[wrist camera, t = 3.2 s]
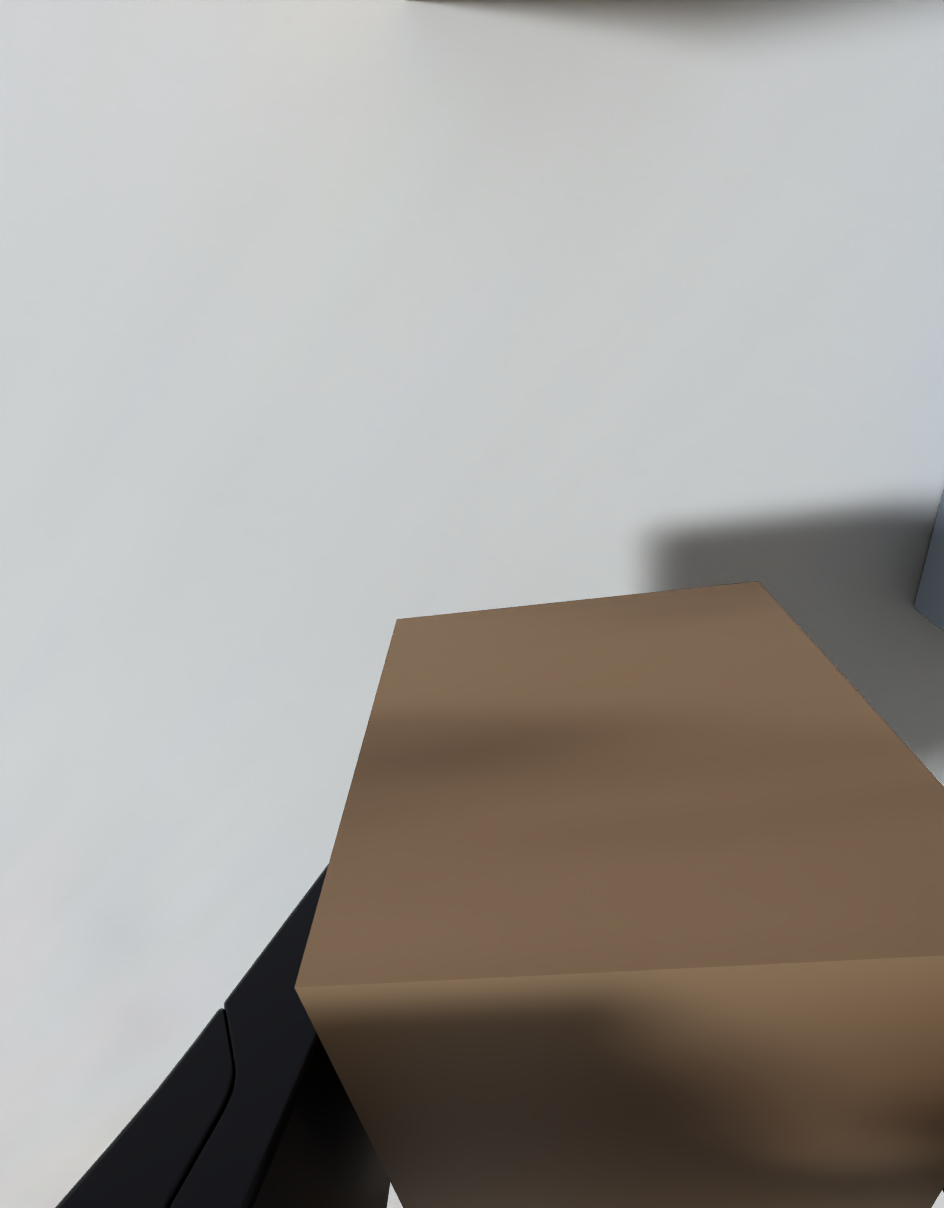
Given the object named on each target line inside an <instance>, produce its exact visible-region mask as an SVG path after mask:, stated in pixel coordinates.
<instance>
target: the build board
mask: <svg viewBox="0 0 944 1208" xmlns="http://www.w3.org/2000/svg"><path fill="white" fill-rule="evenodd" d="M914 609H916V610H917V611H918V612H920V613H921V614H922V615H924V616H925V617H926V618H927V619H929V620H930V621H931V622H933V623H934V624H935V625H937V626H938V627H939V628H941V629H942V630H943V631H944V490H943V494H942V498H941V502H940V506H939V510H938V514H937V518H936V521H935V525H934V529H933V533H932V537H931V541H930V545H929V549H928V553H927V557H926V561H925V565H924V569H923V573H922V577H921V581H920V585H919V589H918V592H917V596H916V600H915V604H914Z"/></svg>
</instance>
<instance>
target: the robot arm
mask: <svg viewBox="0 0 944 1208" xmlns="http://www.w3.org/2000/svg"><path fill="white" fill-rule="evenodd" d="M328 865H329V864H328ZM328 865H327V867H326V868H325V869H324V871H323V872H322V873H321V875H320V876H319V877H318V879H317V880H316V881H315V883H314V884H313V885H312V887H311V888H310V889H309V891H308V892H307V893H306V895H305V896H304V897H303V899H302V900H301V901H300V903H299V904H298V905H297V907H296V908H295V909H294V911H293V912H292V913H291V914H290V916H289V917H288V918H287V920H286V921H285V922H284V924H283V925H282V926H281V928H280V929H279V930H278V932H277V933H276V934H275V936H274V937H273V938H272V940H271V941H270V942H269V944H268V945H267V946H266V948H265V949H264V950H263V952H262V953H261V954H260V956H259V957H258V958H257V960H256V961H255V962H254V964H253V965H252V966H251V968H250V969H249V970H248V972H247V973H246V974H245V976H244V977H243V978H242V980H241V981H240V982H239V984H238V985H237V986H236V988H235V989H234V990H233V992H232V993H231V994H230V996H229V997H228V998H227V1000H226V1001H225V1003H224V1008H225V1009H223V1008H221V1009H219V1010H218V1011H217V1012H216V1014H215V1015H214V1016H213V1018H212V1019H211V1020H210V1022H209V1023H208V1024H207V1026H206V1027H205V1028H204V1030H203V1031H202V1032H201V1034H200V1035H199V1036H198V1038H197V1039H196V1040H195V1042H194V1043H193V1044H192V1045H191V1047H190V1048H189V1049H188V1051H187V1052H186V1053H185V1054H184V1056H183V1057H182V1058H181V1060H180V1061H179V1062H178V1063H177V1065H176V1066H175V1067H174V1068H173V1070H172V1071H171V1072H170V1074H169V1075H168V1076H167V1077H166V1079H165V1080H164V1081H163V1082H162V1084H161V1085H160V1086H159V1088H158V1089H157V1090H156V1091H155V1092H154V1094H153V1095H152V1096H151V1097H150V1098H149V1100H148V1101H147V1102H146V1103H145V1104H144V1105H143V1107H142V1108H141V1109H140V1110H139V1111H138V1113H137V1114H136V1115H135V1116H134V1117H133V1118H132V1120H131V1121H130V1122H129V1123H128V1124H127V1126H126V1127H125V1128H124V1129H123V1130H122V1131H121V1133H120V1134H119V1135H118V1136H117V1137H116V1139H115V1140H114V1141H113V1142H112V1143H111V1144H110V1146H109V1147H108V1148H107V1149H106V1150H105V1151H104V1153H103V1154H102V1155H101V1156H100V1157H99V1158H98V1159H97V1161H96V1162H95V1163H94V1164H93V1165H92V1166H91V1167H90V1169H89V1170H88V1171H87V1172H86V1173H85V1174H84V1175H83V1177H82V1178H81V1179H80V1180H79V1181H78V1182H77V1183H76V1185H75V1186H74V1187H73V1188H72V1189H71V1190H70V1191H69V1193H68V1194H67V1195H66V1196H65V1197H64V1198H63V1199H62V1201H61V1202H60V1203H59V1204H58V1205H57V1206H56V1207H55V1208H387V1201H388V1194H389V1187H390V1180H389V1178H388V1176H387V1174H386V1172H385V1170H384V1168H383V1166H382V1164H381V1162H380V1160H379V1157H378V1155H377V1153H376V1151H375V1149H374V1147H373V1145H372V1143H371V1141H370V1139H369V1137H368V1135H367V1133H366V1131H365V1129H364V1127H363V1125H362V1123H361V1121H360V1119H359V1117H358V1115H357V1113H356V1111H355V1109H354V1107H353V1105H352V1103H351V1101H350V1099H349V1097H348V1095H347V1093H346V1091H345V1089H344V1087H343V1085H342V1083H341V1081H340V1079H339V1077H338V1075H337V1073H336V1071H335V1069H334V1067H333V1065H332V1063H331V1061H330V1059H329V1056H328V1054H327V1052H326V1050H325V1048H324V1046H323V1044H322V1042H321V1040H320V1038H319V1036H318V1034H317V1032H316V1030H315V1028H314V1026H313V1024H312V1022H311V1020H310V1018H309V1016H308V1014H307V1012H306V1010H305V1008H304V1006H303V1004H302V1002H301V1000H300V998H299V996H298V994H297V992H296V990H295V988H294V987H295V984H296V980H297V977H298V973H299V970H300V966H301V962H302V959H303V955H304V952H305V948H306V944H307V941H308V937H309V934H310V930H311V926H312V923H313V919H314V916H315V912H316V908H317V905H318V901H319V898H320V894H321V890H322V887H323V883H324V880H325V876H326V872H327V869H328ZM942 1190H943V1192H944V1187H943V1189H942Z"/></svg>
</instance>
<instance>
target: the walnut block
mask: <svg viewBox="0 0 944 1208" xmlns="http://www.w3.org/2000/svg"><path fill="white" fill-rule="evenodd" d="M294 988H295V990H296V992H297V994H298V996H299V998H300V1000H301V1002H302V1004H303V1006H304V1008H305V1010H306V1012H307V1014H308V1016H309V1018H310V1020H311V1022H312V1024H313V1026H314V1028H315V1030H316V1032H317V1034H318V1036H319V1038H320V1040H321V1042H322V1044H323V1046H324V1048H325V1050H326V1052H327V1054H328V1056H329V1059H330V1061H331V1063H332V1065H333V1067H334V1069H335V1071H336V1073H337V1075H338V1077H339V1079H340V1081H341V1083H342V1085H343V1087H344V1089H345V1091H346V1093H347V1095H348V1097H349V1099H350V1101H351V1103H352V1105H353V1107H354V1109H355V1111H356V1113H357V1115H358V1117H359V1119H360V1121H361V1123H362V1125H363V1127H364V1129H365V1131H366V1133H367V1135H368V1137H369V1139H370V1141H371V1143H372V1145H373V1147H374V1149H375V1151H376V1153H377V1155H378V1157H379V1160H380V1162H381V1164H382V1166H383V1168H384V1170H385V1172H386V1174H387V1176H388V1178H389V1180H390V1182H391V1184H392V1186H393V1188H394V1190H395V1192H396V1194H397V1196H398V1198H399V1200H400V1202H401V1204H402V1206H403V1208H931V1207H932V1205H933V1204H934V1202H935V1201H936V1199H937V1197H938V1196H939V1194H940V1192H941V1191H942V1189H943V1187H944V787H943V786H942V785H941V783H940V782H939V781H938V780H937V779H936V778H935V777H934V776H933V775H932V773H931V772H930V771H929V770H928V769H927V768H926V767H925V766H924V765H923V763H922V762H921V761H920V760H919V759H918V758H917V757H916V756H915V755H914V753H913V752H912V751H911V750H910V749H909V748H908V747H907V746H906V745H905V743H904V742H903V741H902V740H901V739H900V738H899V737H898V736H897V735H896V734H895V732H894V731H893V730H892V729H891V728H890V727H889V726H888V725H887V724H886V722H885V721H884V720H883V719H882V718H881V717H880V716H879V715H878V714H877V712H876V711H875V710H874V709H873V708H872V707H871V706H870V705H869V704H868V702H867V701H866V700H865V699H864V698H863V697H862V696H861V695H860V694H859V692H858V691H857V690H856V689H855V688H854V687H853V686H852V685H851V684H850V682H849V681H848V680H847V679H846V678H845V677H844V676H843V675H842V674H841V673H840V671H839V670H838V669H837V668H836V667H835V666H834V665H833V664H832V663H831V661H830V660H829V659H828V658H827V657H826V656H825V655H824V654H823V653H822V651H821V650H820V649H819V648H818V647H817V646H816V645H815V644H814V643H813V641H812V640H811V639H810V638H809V637H808V636H807V635H806V634H805V633H804V631H803V630H802V629H801V628H800V627H799V626H798V625H797V624H796V623H795V621H794V620H793V619H792V618H791V617H790V616H789V615H788V614H787V613H786V611H785V610H784V609H783V608H782V607H781V606H780V605H779V604H778V603H777V602H776V600H775V599H774V598H773V597H772V596H771V595H770V594H769V593H768V592H767V590H766V589H765V588H764V587H763V586H762V585H761V584H760V583H759V582H758V581H755V582H746V583H736V584H727V585H717V586H708V587H698V588H689V589H680V590H670V591H661V592H651V593H642V594H632V595H623V596H613V597H604V598H594V599H585V600H576V601H566V602H557V603H547V604H538V605H528V606H519V607H509V608H500V609H490V610H481V611H471V612H462V613H453V614H443V615H434V616H424V617H415V618H405V619H397V621H396V624H395V628H394V632H393V635H392V639H391V642H390V646H389V650H388V653H387V657H386V660H385V664H384V668H383V671H382V675H381V678H380V682H379V686H378V689H377V693H376V696H375V700H374V704H373V707H372V711H371V714H370V718H369V721H368V725H367V729H366V732H365V736H364V739H363V743H362V747H361V750H360V754H359V757H358V761H357V765H356V768H355V772H354V775H353V779H352V783H351V786H350V790H349V793H348V797H347V801H346V804H345V808H344V811H343V815H342V819H341V822H340V826H339V829H338V833H337V837H336V840H335V844H334V847H333V851H332V854H331V858H330V862H329V865H328V869H327V872H326V876H325V880H324V883H323V887H322V890H321V894H320V898H319V901H318V905H317V908H316V912H315V916H314V919H313V923H312V926H311V930H310V934H309V937H308V941H307V944H306V948H305V952H304V955H303V959H302V962H301V966H300V970H299V973H298V977H297V980H296V984H295V987H294Z"/></svg>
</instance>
